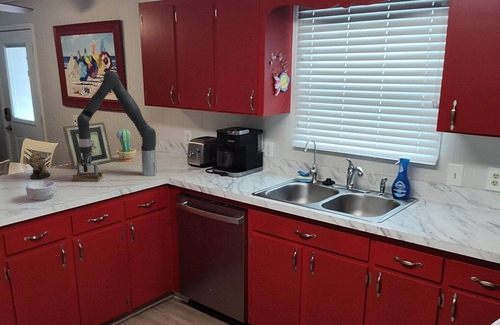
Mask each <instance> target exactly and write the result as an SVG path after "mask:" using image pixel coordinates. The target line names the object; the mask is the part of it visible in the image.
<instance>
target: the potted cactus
mask: <svg viewBox="0 0 500 325" xmlns="http://www.w3.org/2000/svg"><path fill="white" fill-rule="evenodd" d="M116 138H117V139H118V140H119V142H120V146H121V149H117V150H116V154H117V155H118V158H119V160H120V161H121V162H124V163H125V162H126V163H128V162H132V161H133V159H134V158H135V155H136V153H137V149H135V148H132V147H131V132H130V131H129V130H128V129H127V128H126V129H125V128H122V129H121V130H118V131H117V133H116Z"/></svg>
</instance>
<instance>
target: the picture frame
mask: <svg viewBox="0 0 500 325" xmlns="http://www.w3.org/2000/svg"><path fill="white" fill-rule="evenodd" d="M62 130H63V134H64V138H65V139H64V140H65V142H66V146H67V151H68V155H69V159H70V160H69V161H70V164H71V168H72V169H77V164H78V163H81V157H82V155H83V154H82V153H80V151H79V130H78V124H77V125H68V126H62ZM89 130H90V135H91V143H92V152H91V153H92V162H91V163H97V165H99V164H100V165H101V164H105V163H110V162H113V161H114V160H113V156H112V152H111V147H110V144H109V138H108V135H107V130H106V124H105V122H97V123H89Z"/></svg>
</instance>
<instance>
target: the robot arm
mask: <svg viewBox="0 0 500 325" xmlns="http://www.w3.org/2000/svg"><path fill="white" fill-rule="evenodd" d="M111 91H112V92H113V94H114V96H115V98H116V99H117V101H118V103H119V105H120V107H121V108H122V110H123V111H124V113H125V115H126V116H127V117H128V118H129V119H130V121H131V122H132V123H133V124H134V126H135V128H136V129H137V132H138V133H139V135H140V137H141V147H140V148H141V167H142V168H141V169H142V170H141V172H142V176H144V177H151V176H156V175H157V174H158V166H157V159H156V146H157V134H156V130H155V129H154V128H153V127H151V126H150V125H149V124H148V122H147V121H146V119H145V118H144V117H143V114H142V112H141V109H140V108H139V105H138V103H137V101H135V99H134V98H133V96H132V95H131V94H130V93H129V92H128V90H127V89H125V87H124V85H123V83H122V81H121V80H120V76H119V74H118V73H117V72H116V71H114V70H108V71H105V72H104V74H103V80H102V81H101V84H100V86H99V87H98V89H97V90H96V92H94V93H93V95H92V96H91V97H90V99H89V100H88V102H87V103H86V104H85V106H84V108H83V110H81V112H80V113H79V115H78V116H77V118H76V123H77V125H78V130H79V151H80V153H82V154H83V155H82V157H81V165H82V166H83V169H84V172H88V170H87V163H91V162H92V153H91V152H92V143H91V135H90V130H89V124H90V121H91V119H92V118H93V117H94V115H95V113H97V111H98V109H99V108H100V107H101V105H102V103H103V101H104V100H105V99H106V97H107V96H108V94H109V93H110V92H111Z"/></svg>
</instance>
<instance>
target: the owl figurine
mask: <svg viewBox="0 0 500 325" xmlns="http://www.w3.org/2000/svg"><path fill="white" fill-rule="evenodd" d="M45 159H46V158H45V156H44V155H43V154H40V152H39V151H33V153H31V154H30V157H29V159H28V161H29V162H28V163H29V165H30V167H31V169H32V174H30V175H29V179H30V180H45V179H47V178H49V177H50V176H51V172H49V171H48V170H47V168H46V167H47V166H46V160H45Z"/></svg>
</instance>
